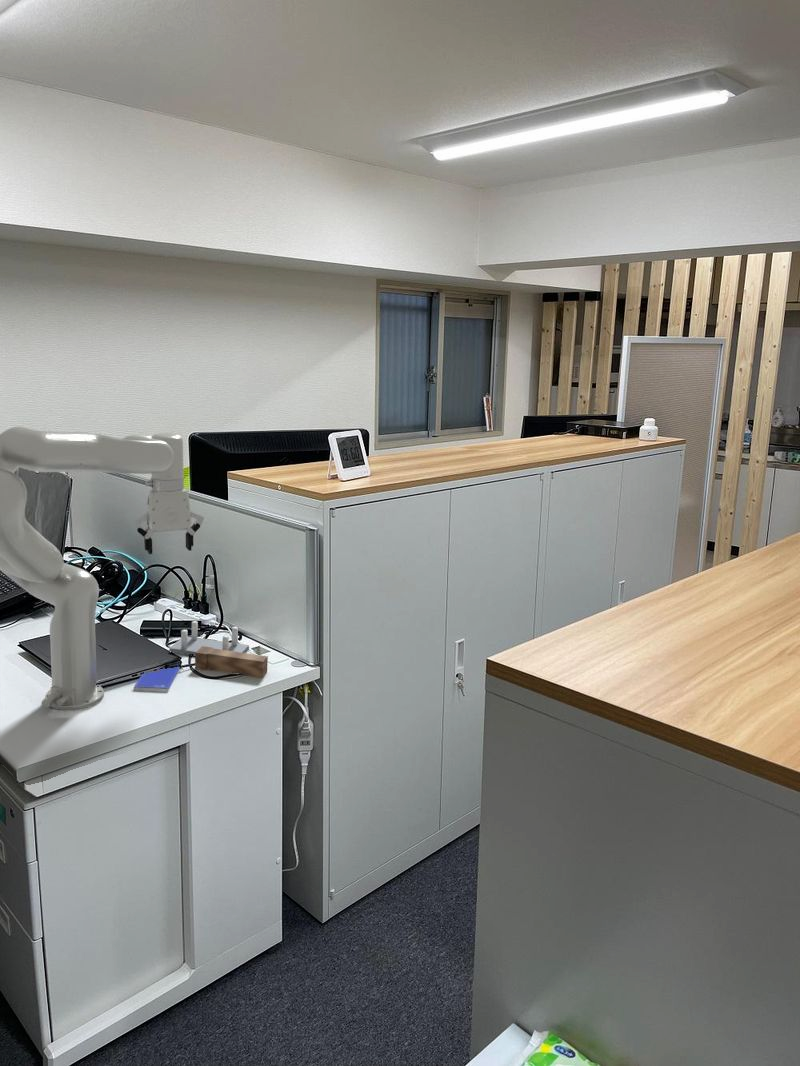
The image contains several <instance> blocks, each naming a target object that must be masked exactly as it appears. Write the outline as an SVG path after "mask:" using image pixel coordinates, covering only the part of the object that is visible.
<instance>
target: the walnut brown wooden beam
mask: <svg viewBox="0 0 800 1066" xmlns="http://www.w3.org/2000/svg"><path fill="white" fill-rule="evenodd" d="M268 658H269V657H268V656H267V655H260V654H255V653H249V652H248V653H247V652H246V653H241V652H234V651H228V650H221V649H214V648H212V647H205V646H202V647H201V648H200V649H199V650H198V651H196V652H195V656H194V670H195V669H196V670H201V671H202V670H203V671H214V672H220V673H226V672H227V674H233V673H241V674H244V675H243V676H247V677H252V678H253V677H254V678H261V679H263V678H264V677H265V676H266V674H267V673H268Z"/></svg>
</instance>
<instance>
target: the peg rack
mask: <svg viewBox="0 0 800 1066" xmlns="http://www.w3.org/2000/svg"><path fill="white" fill-rule="evenodd" d="M198 623H199V622H198V621H196V620H194V621H191V636H188V630H187V629H182V630H180V635H181V637H180V638H179V639H178V640H177V641H176V642H175V643H173V644H172V645H171V646H169V649H168V651H171V652H173V653H174V654H180V655H185V656H190V655H189V654H190V653H191V654H193V657H195V652H196V651H198V650H199V649H200V648H201V647H202V646H205V647H212V648H214V649H221V650H228V651H234V652H241V653H247V652H249V650H250V645H249V644H243V643H238V639H239V636H238V635H239V633H238V632H239V627H238V626H232V627H231V642H230V641H229V640H230V637H229V635H223V636H222V640H215V639H208V638H202V637H201V638H200V637H198V636H199V635H198V632H199V631H198V627H199V624H198ZM171 652H170V653H171ZM173 653H172V654H173Z"/></svg>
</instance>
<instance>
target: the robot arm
mask: <svg viewBox="0 0 800 1066" xmlns="http://www.w3.org/2000/svg"><path fill="white" fill-rule="evenodd" d="M19 468H21V469H23V470H27V471H31V472H35V473H36V472H37V473H71V472H74V473H75V472H85V473H87V472H88V473H91V472H92V473H103V474H104V473H106V474H108V473H109V474H111V473H113V474H115V473H116V474H136V475H138V474H140V475H143V474H147V475H148V474H151V477H150V479H149V480H145V487H150V488H149V491H148V496H147V503H146V505H147V507H146V513H144V514H142V515H140V516H138V517H136V518H134V519H133V520H132V521H131V524H132V525H133V527H134V528H135V529H136V531H137V533H139V535H141V536H142V537H143V541H144V551H146V552H147V553H148V554H149V555H153V539H152V537H151V536H153V535H154V533H163V532H174V531H175V532H177V531H178V532H179V531H185V530H186V533H185V548H186V549H187V551H190V552H191V551H192V548H193V547H194V536H195V534H196V532H197V531H198V530H200V528H201V525H202V523H204V522H203V521H204V519H205V517H204V516H203V515H201V514H199V513H198V512H197V513H196V512H194V511H192V510H191V503H190V496H189V491H188V489H187V488H185V486H184V485H185V483H184V480H185V479H184V478H185V477H184V441H183V438H182V436H181V435H180V434H177V433H173V432H172V433H168V432H165V433H164V432H162V433H156V434H153V435H139V434H131V435H127V436H125V437H122V438H119V437H115V436H114V437H113V436H108V435H105V434H100V433H93V432H80V431H79V432H77V431H76V432H74V431H73V432H70V431H67V432H66V431H52V430H51V431H49V430H48V431H46V430H36V429H31V428H28V427H23V426H13V427H11V428H8V429H6V430H4V431H2V432H1V433H0V571H1V572H2V573H3V574H4V575H6V576H7V577H8V578H9V579H10V580H12V581H13V582H14V583H15V584H17V585H18V586H19V587H20V588H22V589H23V590H24V591H26V592H27V593H28V594H29V595H31V596H33V597H35V598H36V599H39V600H41V601H44V602H45V603H48V604H50V605H52V606H54V612H53V616H52V617H51V621H50V622H49V639H50V640H49V641H50V664H51V665H50V666H51V668H50V669H51V687H50V690H48V691H47V692H46V693H45V695H44V699H43V700H42V701H41V705H42V706H43V708H47V709H48V708H49V707H50V708H52V709H56V710H60V711H61V710H62V711H75V710H77V711H78V710H83V709H86V708H90V707H93V706H94V705H97V704H98V703H99V702H101V701H102V700H103V699H104V696H105V693H104V692H105V691H104V688H103V687H102V686H101V685H99V687H97V685H98V684H97V653H96V652H97V651H96V650H97V648H96V647H97V646H96V644H97V643H96V613H97V612H96V611H97V604H98V601H99V593H100V587H99V584H98V581H97V579H96V578H95V577H94V575H93V574H91V573H90V572H89V571H87V570H85V569H83V568H81V567H78V566H74V565H71V564H68V563H65V562H64V559H63V555H62V554H61V552H60V550H59V548H57V547H56V546H55V545H54V544H53V543H52V542H51V541H49V540H48V539H46V537H45V536H43V535H42V534H41V533H40V532H39V531H37V529H36V528H34V527H33V526H32V525H31V524H30V523H29V522H28V520H27V517H26V515H25V514H26V513H25V512H26V505H27V501H28V490H27V487H26V484H25V482H24V480H23V479H22V478H21V477H20V476H19V475H17V474H15V472H16V471H18V469H19ZM192 518H193V519H194V520H195V522H194V523H193V524H192ZM144 522H146V525H147V527H146V528H145V529H144V528H142V527H141V524H142V523H144ZM96 684H97V685H96Z"/></svg>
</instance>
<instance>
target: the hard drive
mask: <svg viewBox="0 0 800 1066" xmlns="http://www.w3.org/2000/svg"><path fill="white" fill-rule="evenodd" d="M180 670H181V667H180V666H177V667H174V668H167V669H163V670H159V671H155V672H150V673H146V674H143V673H141V675H140V677H139V678H138V680H137V681H136V683H135V684H134V686H133V690H134V691H145V692H146V691H148V692H150V691H151V692H163V693H165V692H167V693H168V692H169V691H170V690H171V687H172V686H173V684H174V682H175V681H176V678H177V676H178V674H179V673H180Z"/></svg>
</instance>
